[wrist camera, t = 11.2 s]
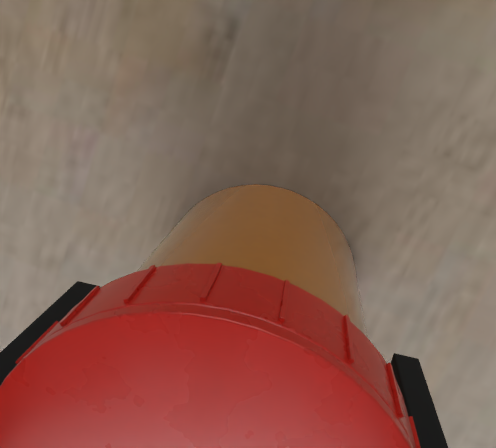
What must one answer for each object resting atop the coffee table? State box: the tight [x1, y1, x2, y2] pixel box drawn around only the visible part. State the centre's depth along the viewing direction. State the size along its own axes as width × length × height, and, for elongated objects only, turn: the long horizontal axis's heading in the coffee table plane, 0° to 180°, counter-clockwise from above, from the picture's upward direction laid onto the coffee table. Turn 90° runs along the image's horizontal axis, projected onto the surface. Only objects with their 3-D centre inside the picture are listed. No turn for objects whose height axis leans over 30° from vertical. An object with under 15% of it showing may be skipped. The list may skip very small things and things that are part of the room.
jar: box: [137, 184, 367, 337], centre depth 16 cm, size 8×8×11 cm
